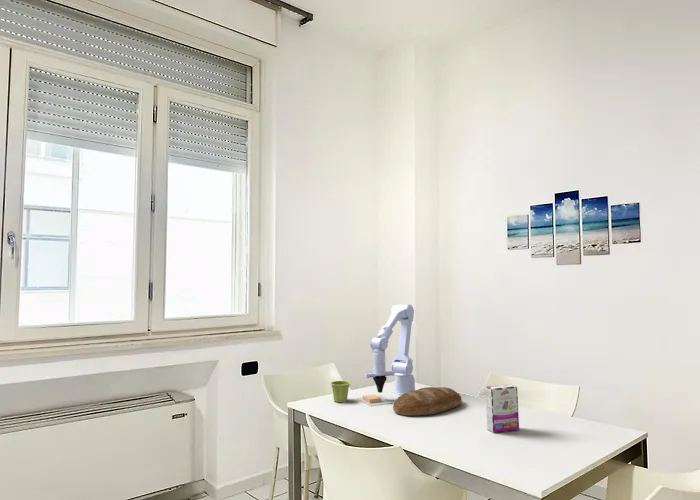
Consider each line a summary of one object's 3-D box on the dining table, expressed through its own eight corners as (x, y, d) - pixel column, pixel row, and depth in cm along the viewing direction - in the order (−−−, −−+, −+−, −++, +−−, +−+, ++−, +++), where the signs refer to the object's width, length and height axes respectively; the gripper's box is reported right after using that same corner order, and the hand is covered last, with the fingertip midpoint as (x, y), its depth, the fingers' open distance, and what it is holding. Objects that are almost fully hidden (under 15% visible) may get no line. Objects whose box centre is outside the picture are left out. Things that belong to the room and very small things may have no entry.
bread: (473, 405, 230) (473, 386, 230) (419, 421, 206) (418, 400, 206) (435, 397, 246) (435, 379, 247) (381, 411, 222) (380, 391, 223)
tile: (374, 394, 243) (362, 395, 241) (381, 398, 236) (369, 399, 233) (374, 398, 243) (362, 399, 241) (381, 402, 235) (369, 403, 233)
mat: (380, 396, 249) (380, 395, 249) (396, 403, 234) (396, 402, 234) (356, 398, 244) (356, 398, 244) (370, 406, 229) (370, 405, 229)
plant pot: (354, 400, 241) (354, 381, 242) (343, 404, 233) (343, 385, 234) (337, 398, 246) (337, 379, 247) (326, 402, 238) (326, 383, 239)
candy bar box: (512, 426, 196) (510, 383, 197) (519, 430, 191) (518, 386, 192) (486, 429, 193) (484, 385, 194) (493, 433, 188) (491, 388, 189)
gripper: (389, 360, 247) (389, 388, 246) (361, 363, 242) (362, 391, 241) (396, 362, 241) (396, 391, 240) (368, 365, 235) (368, 395, 234)
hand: (379, 392), depth 240 cm, fingers closed
